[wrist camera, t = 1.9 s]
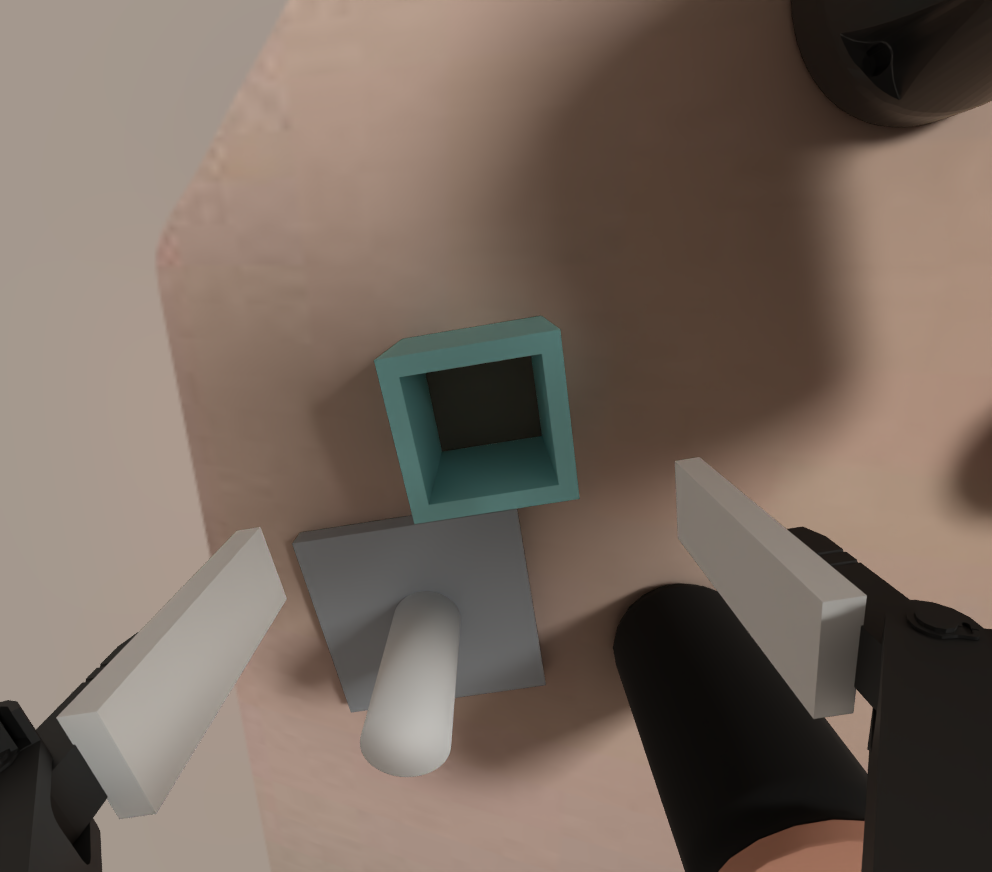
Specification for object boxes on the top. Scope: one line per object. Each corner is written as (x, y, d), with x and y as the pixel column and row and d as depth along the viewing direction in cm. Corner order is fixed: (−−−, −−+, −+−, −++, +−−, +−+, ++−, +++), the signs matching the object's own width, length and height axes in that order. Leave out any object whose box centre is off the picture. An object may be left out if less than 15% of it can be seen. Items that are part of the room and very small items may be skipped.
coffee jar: (591, 670, 39) (673, 973, 22) (635, 563, 36) (769, 824, 19) (709, 692, 40) (873, 998, 23) (762, 591, 37) (998, 861, 20)
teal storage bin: (541, 315, 30) (560, 329, 22) (557, 446, 33) (579, 498, 25) (402, 338, 30) (374, 360, 22) (430, 466, 33) (414, 524, 25)
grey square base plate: (515, 499, 34) (529, 605, 23) (543, 670, 39) (565, 822, 28) (300, 532, 34) (213, 651, 24) (355, 696, 40) (306, 856, 29)
